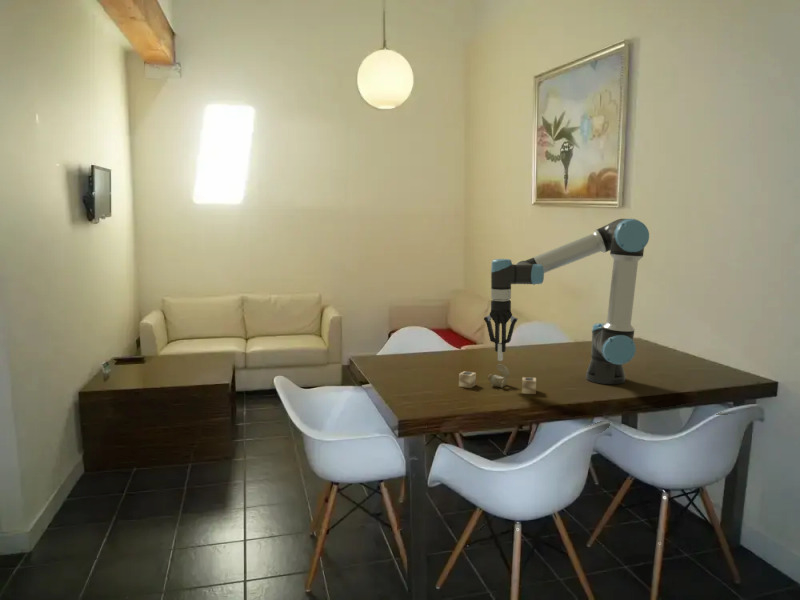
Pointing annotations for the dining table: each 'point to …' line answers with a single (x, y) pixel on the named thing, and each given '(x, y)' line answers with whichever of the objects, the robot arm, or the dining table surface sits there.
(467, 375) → the marked cube 1
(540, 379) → the dining table surface
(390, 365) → the dining table surface
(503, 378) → the white irregular piece
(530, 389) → the marked cube 2
